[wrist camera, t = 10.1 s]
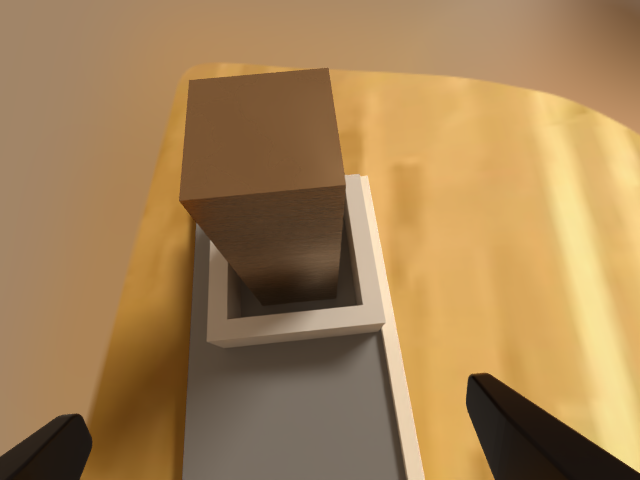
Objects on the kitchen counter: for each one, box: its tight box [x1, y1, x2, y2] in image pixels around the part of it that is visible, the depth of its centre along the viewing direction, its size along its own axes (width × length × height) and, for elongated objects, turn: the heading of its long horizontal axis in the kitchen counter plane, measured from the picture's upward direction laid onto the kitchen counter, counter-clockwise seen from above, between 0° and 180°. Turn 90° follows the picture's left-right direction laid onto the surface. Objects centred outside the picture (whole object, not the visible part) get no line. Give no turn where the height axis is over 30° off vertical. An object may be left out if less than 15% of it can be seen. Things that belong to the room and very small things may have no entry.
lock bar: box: [179, 68, 346, 306], centre depth 16 cm, size 4×4×12 cm
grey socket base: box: [182, 174, 425, 480], centre depth 19 cm, size 20×12×4 cm, turn 6°
